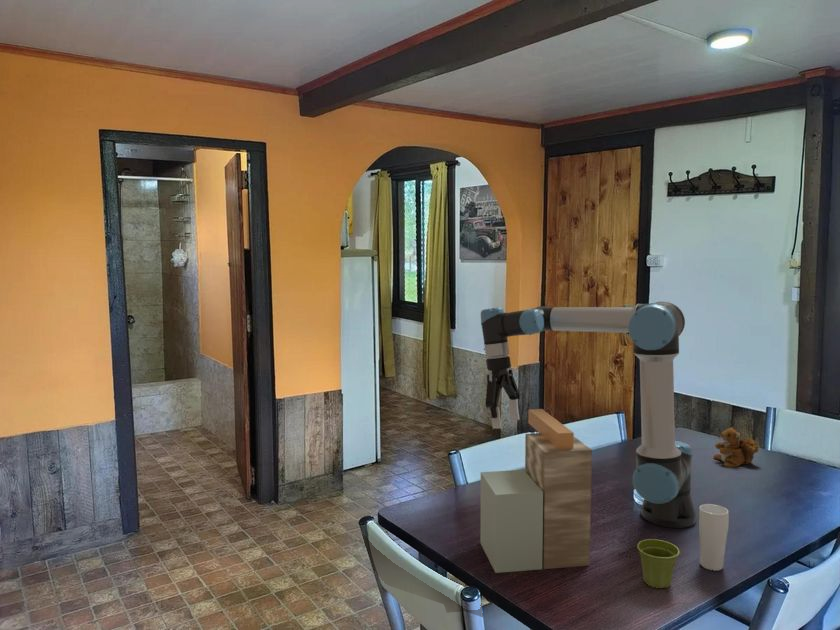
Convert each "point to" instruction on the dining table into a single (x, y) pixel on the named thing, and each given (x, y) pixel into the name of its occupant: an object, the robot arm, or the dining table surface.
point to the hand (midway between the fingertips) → (506, 424)
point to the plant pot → (657, 561)
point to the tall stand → (562, 499)
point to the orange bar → (551, 429)
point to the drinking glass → (712, 535)
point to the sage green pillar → (511, 520)
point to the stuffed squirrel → (735, 449)
